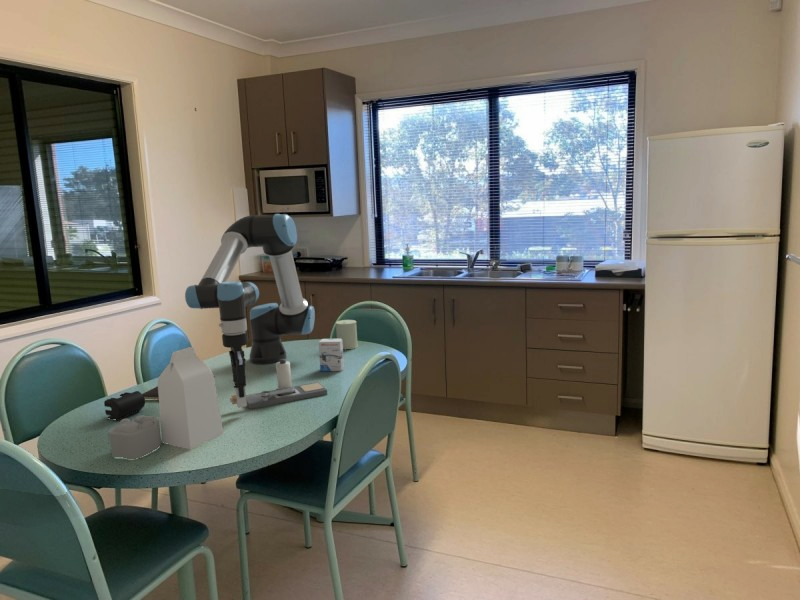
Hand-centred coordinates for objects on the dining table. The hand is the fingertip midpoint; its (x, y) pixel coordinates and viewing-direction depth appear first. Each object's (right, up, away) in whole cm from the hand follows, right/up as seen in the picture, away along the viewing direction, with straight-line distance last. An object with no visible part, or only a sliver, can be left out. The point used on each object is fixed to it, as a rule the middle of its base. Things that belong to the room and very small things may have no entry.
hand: (242, 406), depth 185 cm
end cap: (-39, -4, +6) cm, 39 cm away
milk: (-10, -7, -16) cm, 20 cm away
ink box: (+23, +6, +45) cm, 51 cm away
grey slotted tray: (+11, 0, +15) cm, 19 cm away
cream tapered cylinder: (+26, +12, +78) cm, 83 cm away
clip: (+4, +1, +8) cm, 9 cm away
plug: (+11, 0, +15) cm, 19 cm away
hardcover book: (-31, 0, +29) cm, 42 cm away
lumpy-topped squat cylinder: (-22, -8, -22) cm, 32 cm away
